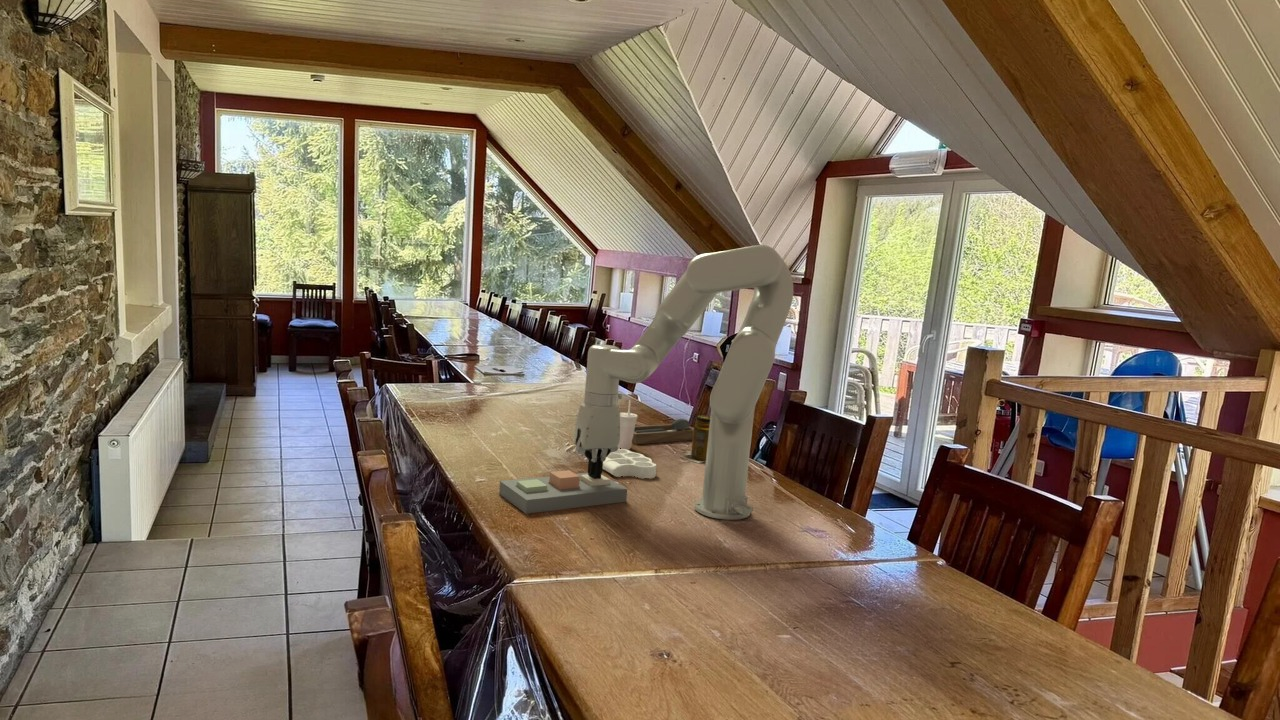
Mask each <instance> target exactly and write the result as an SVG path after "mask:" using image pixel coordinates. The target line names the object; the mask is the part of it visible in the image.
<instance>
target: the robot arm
mask: <svg viewBox="0 0 1280 720" xmlns="http://www.w3.org/2000/svg"><path fill="white" fill-rule="evenodd" d="M751 288H753V294H752V298H751V301H750V304H749V306H748V309H747V311H746V315H745V317H744V319H743V320H742V323H741V327H740V328H739V331H738V333H736V335H735V336H734V338H733V340H732V342H731V344H730V347H729V349H728V350H727V351H728V352H727V353H726V356H725V359H724V360H723V363H722V366H721V368H720V371H719V374H718V375H717V378H716V381H715V383H714V384H713V387H712V389H711V392H710V395H709V407H710V416H711V417H710V426H709V435H708V444H707V454H706V462H705V465H704V466H705V467H704V477H703V486H702V487H703V488H702V497H701V498H699V499H697V500H696V501H695V502H694V509H695V511H696V512H697V513H699V514H701V515H703V516H706V517H709V518H711V519H712V518H713V519H718V520H723V521H724V520H727V521H735V520H744V519H746V518H748V517H750V515H751V513H753V511H754V507H753V506H751V505H750V504H748V500H749V499H748V498H749V497H748V496H747V495H746V489H747V481H748V471H749V463H750V462H749V461H750V451H751V444H752V436H753V427H754V426H753V425H754V419H755V416H754V415H755V409H756V405H757V402H758V400H759V398H760V396H761V393H762V391H763V388H764V386H765V384H766V381H767V379H768V377H769V374H770V373H771V369H772V367H773V364H774V361H775V356H776V347H777V344H778V341H779V339H780V337H781V334H782V332H783V329H784V326H785V324H786V320H787V318H788V316H789V313H790V311H791V307H792V304H793V299H794V281H793V277H792V273H791V271H790V269H789V267H788V265H787V264H786V262H785V261H784V259H783V258H782V256H781V255H780V254H779V253H778V252H777V250H776V249H774V248H773V247H772V246H769V245H765V244H756V245H755V244H754V245H750V246H744V247H740V248H739V247H738V248H734V249H728V250H723V251H716V252H707V253H706V252H705V253H701V254H698V255H697V256H694V257H693V258H692V259H691V261H690V262H689V263H688V264H687V268H686V271H685V272H684V273H683V274H682V276H681V277H680V278H679V280H678V281H677V283H675V285H674V286H673V288H672V289H671V290H670V291H669V293H668V294H667V295H666V296H665V297H664V298H663V300H662V301H661V303H660V304H659V306H658V307H657V309H656V313H655V316H654V318H653V319H652V320H651V322H650V324H649V325H648V327H647V328H646V329H645V331H644V332H643V333H642V335H641V336H640V338H638V340H637V341H636V342H635V344H634V345H633V346H632V347H631V348H629V349H620V348H619V347H618V346H615V345H611V344H610V345H609V344H593V345H591V346H590V347H589V348H588V351H587V362H586V377H585V387H584V400H583V403H580V405H579V408H578V412H577V415H576V420H575V426H574V431H573V444H574V445H576V446H575V449H574V452H575V453H577V454H578V455H584V456H585V458H586V459H587V460H588V461H587V462H588V464H587V473H588V475H589V476H590V477H592V478H594V479H597V478H598V479H600V478H601V474H602V475H603V470H604V469H603V462H604V461H605V460H606V457H607V456H608V455H609V454H610V453H612V452H615V451H617V450H618V449H619V448H618V444H619V441H620V413H621V412H620V411H621V410H620V406H619V405H618V401H619V400H621V399H622V397H623V395H622V393H619V385H620V384H619V383H620V381H623V382H626V383H631V384H639V383H643V382H644V381H646V380H648V378H649V377H651V375H653V373H654V372H655V371H656V370H657V369H658V367H659V366H660V364H662V362H663V361H664V360H665V359H666V357H667V356H668V354H669V353H670V352H671V351H672V350H673V348H674V347H675V345H676V344H677V343H678V342H679V340H681V338H682V337H684V336H685V334H687V333H688V332H689V330H690V329H691V328H692V327H693V325H694V324H695V323H696V321H697V320H698V318H700V316H702V314H703V312H704V311H705V310H706V308H707V307H708V306H709V305H710V303H711V302H712V301H713V300H714V298H716V296H718V293H725V292H726V293H727V292H733V291H739V290H743V289H744V290H746V289H751Z"/></svg>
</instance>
